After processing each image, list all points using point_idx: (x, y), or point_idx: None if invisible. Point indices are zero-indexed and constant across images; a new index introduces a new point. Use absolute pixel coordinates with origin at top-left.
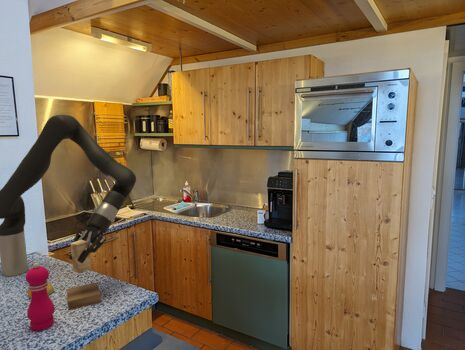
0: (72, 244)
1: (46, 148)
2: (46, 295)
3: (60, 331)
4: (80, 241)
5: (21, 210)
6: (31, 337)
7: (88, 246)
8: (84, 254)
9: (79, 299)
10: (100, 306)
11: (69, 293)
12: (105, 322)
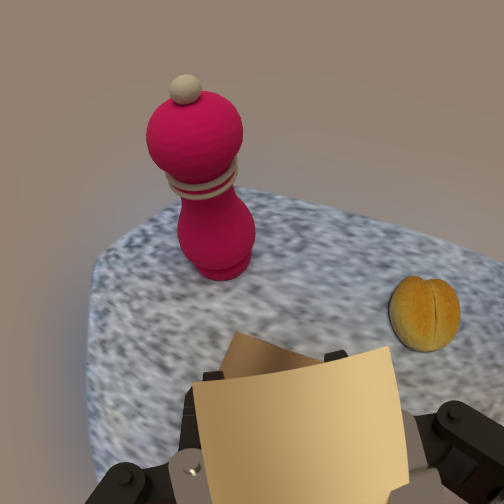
0: (337, 360)
1: None
2: (187, 212)
3: (150, 270)
4: (346, 487)
5: None
6: None
7: (179, 501)
8: (181, 427)
9: (220, 367)
10: (172, 412)
11: (299, 362)
12: (88, 360)
